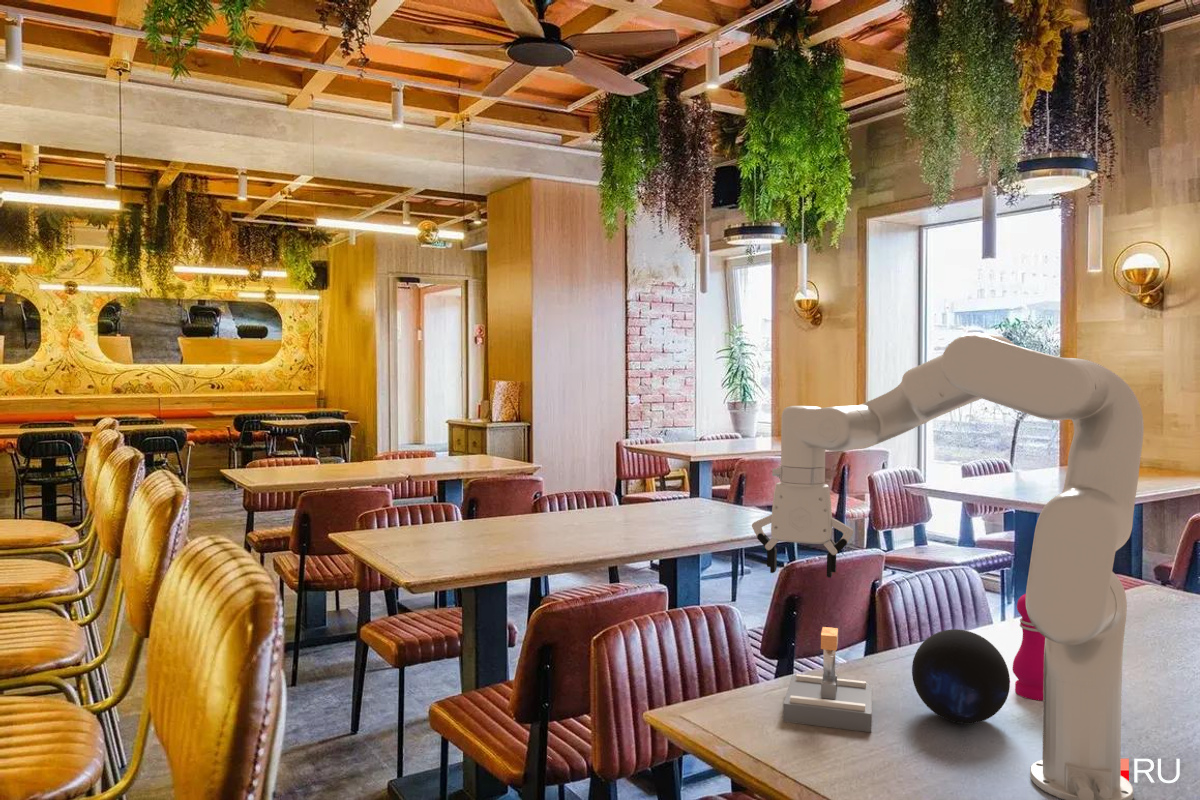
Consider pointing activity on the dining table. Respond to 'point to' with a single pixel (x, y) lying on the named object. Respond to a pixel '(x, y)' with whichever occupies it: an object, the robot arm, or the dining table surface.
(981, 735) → the dining table surface
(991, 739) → the dining table surface
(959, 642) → the decorative sphere
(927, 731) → the dining table surface
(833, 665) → the lever
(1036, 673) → the pepper mill
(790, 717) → the switch panel
